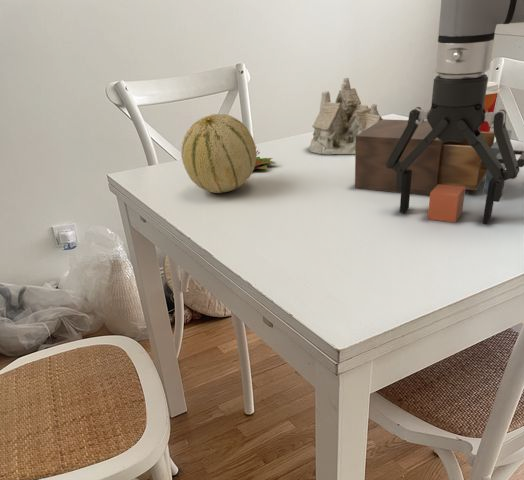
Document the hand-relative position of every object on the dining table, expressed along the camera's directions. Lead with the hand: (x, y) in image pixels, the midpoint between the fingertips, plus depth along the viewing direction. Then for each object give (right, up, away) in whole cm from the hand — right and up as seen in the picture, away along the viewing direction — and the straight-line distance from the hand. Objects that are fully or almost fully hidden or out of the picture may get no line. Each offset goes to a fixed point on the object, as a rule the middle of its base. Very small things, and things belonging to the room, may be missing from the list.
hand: (443, 215), depth 90 cm
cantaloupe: (-38, +10, +21) cm, 45 cm away
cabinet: (-2, +11, +17) cm, 20 cm away
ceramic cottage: (-10, +26, +40) cm, 49 cm away
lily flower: (-33, +19, +33) cm, 50 cm away
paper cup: (+15, +20, +28) cm, 37 cm away
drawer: (+8, +9, +10) cm, 16 cm away
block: (0, 0, 0) cm, 0 cm away
